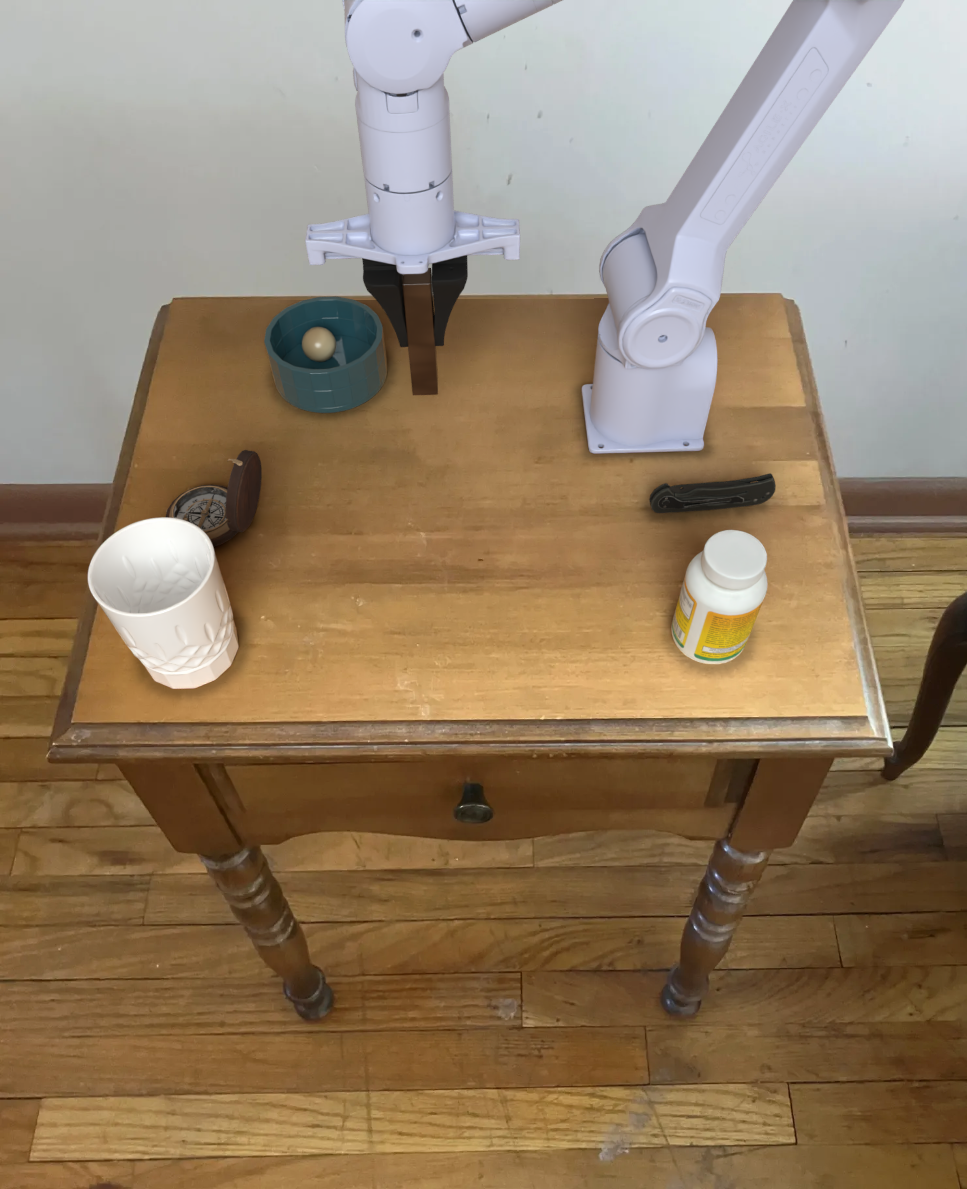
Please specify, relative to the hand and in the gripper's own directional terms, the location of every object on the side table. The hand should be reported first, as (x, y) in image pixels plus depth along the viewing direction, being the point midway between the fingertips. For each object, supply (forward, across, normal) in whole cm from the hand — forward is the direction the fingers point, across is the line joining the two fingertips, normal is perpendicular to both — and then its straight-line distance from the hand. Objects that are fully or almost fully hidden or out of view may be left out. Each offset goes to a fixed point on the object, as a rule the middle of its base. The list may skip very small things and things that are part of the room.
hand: (421, 338), depth 73 cm
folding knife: (+10, +22, -9) cm, 26 cm away
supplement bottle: (+10, +20, -21) cm, 31 cm away
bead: (+10, -9, +10) cm, 17 cm away
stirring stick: (+4, 0, -1) cm, 4 cm away
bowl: (+10, -9, +8) cm, 16 cm away
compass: (+10, -17, -10) cm, 22 cm away
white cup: (+10, -17, -21) cm, 29 cm away
